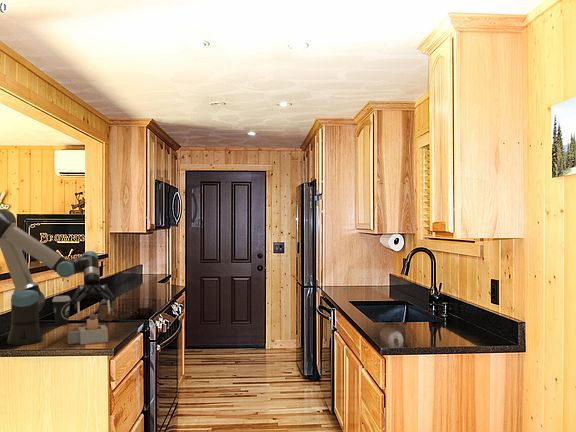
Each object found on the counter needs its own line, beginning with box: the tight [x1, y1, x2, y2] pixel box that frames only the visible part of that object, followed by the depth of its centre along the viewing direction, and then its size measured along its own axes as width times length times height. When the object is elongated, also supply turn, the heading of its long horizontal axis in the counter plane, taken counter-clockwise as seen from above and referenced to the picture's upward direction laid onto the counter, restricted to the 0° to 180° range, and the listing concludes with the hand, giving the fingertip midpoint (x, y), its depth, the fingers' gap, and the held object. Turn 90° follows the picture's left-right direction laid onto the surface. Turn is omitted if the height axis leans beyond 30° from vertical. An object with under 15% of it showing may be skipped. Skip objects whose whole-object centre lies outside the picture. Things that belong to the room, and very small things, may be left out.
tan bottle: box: [86, 313, 99, 330], centre depth 262 cm, size 5×5×12 cm
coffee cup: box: [51, 295, 71, 326], centre depth 305 cm, size 10×10×15 cm
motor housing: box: [67, 324, 109, 346], centre depth 261 cm, size 12×17×6 cm
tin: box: [96, 305, 119, 322], centre depth 315 cm, size 15×3×8 cm, turn 57°
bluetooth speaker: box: [97, 298, 116, 313], centre depth 330 cm, size 23×9×10 cm, turn 14°
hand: (94, 313), depth 262 cm, fingers open, 13 cm apart
